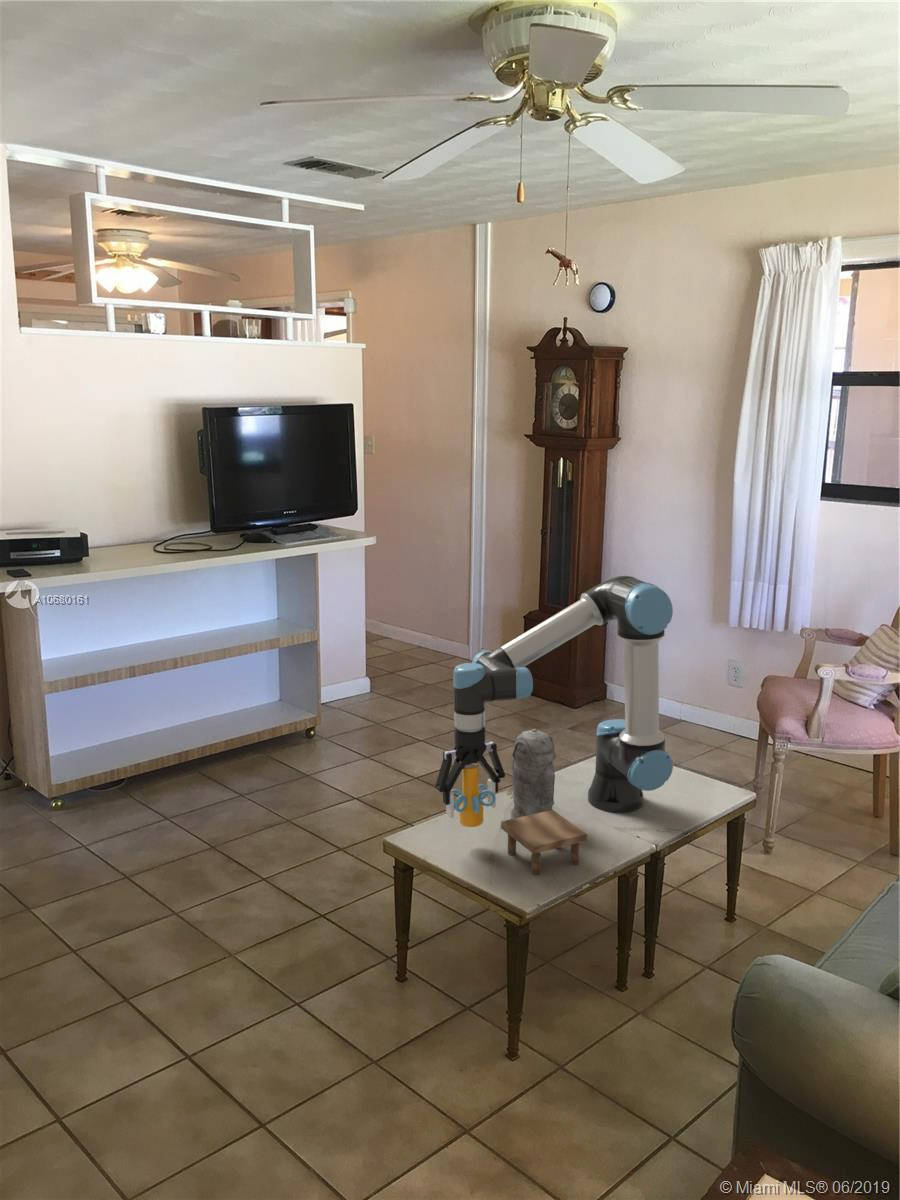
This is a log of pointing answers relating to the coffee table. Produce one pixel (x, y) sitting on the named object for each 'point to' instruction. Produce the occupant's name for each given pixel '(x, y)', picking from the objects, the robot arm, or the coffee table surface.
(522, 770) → the figurine
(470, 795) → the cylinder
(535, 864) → the small wooden table
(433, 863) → the coffee table surface
